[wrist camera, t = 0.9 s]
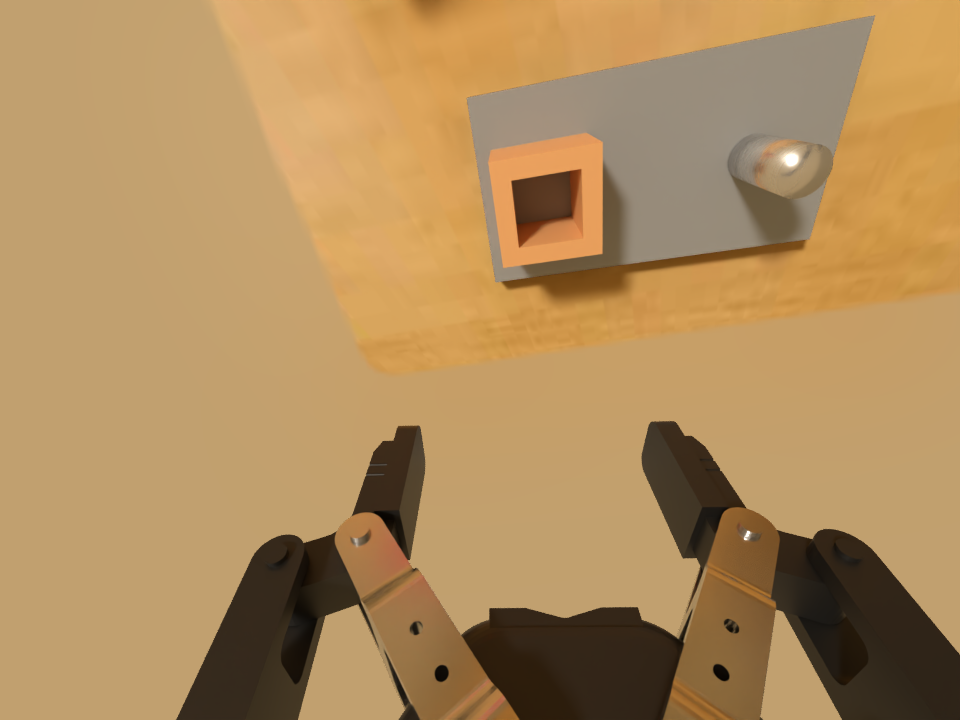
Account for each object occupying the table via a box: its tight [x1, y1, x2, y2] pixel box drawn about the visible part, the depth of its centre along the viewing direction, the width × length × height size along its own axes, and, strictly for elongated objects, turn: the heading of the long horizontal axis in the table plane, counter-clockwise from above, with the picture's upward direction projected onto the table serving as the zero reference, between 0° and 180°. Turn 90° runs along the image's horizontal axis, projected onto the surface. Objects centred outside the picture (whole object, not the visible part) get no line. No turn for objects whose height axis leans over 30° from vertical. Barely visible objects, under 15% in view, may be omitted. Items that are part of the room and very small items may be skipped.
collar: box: [488, 133, 603, 268], centre depth 25 cm, size 6×6×5 cm
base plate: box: [467, 15, 875, 282], centre depth 26 cm, size 12×22×2 cm, turn 100°
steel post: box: [727, 133, 833, 199], centre depth 23 cm, size 3×3×7 cm
